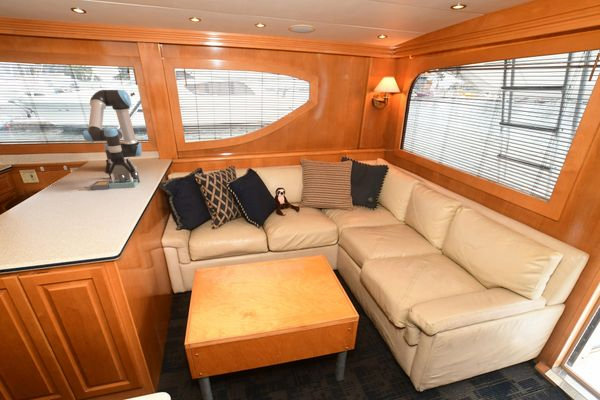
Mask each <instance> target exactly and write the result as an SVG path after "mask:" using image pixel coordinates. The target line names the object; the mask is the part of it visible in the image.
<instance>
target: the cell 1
mask: <svg viewBox="0 0 600 400" xmlns="http://www.w3.org/2000/svg"><path fill="white" fill-rule="evenodd" d="M118 177H119V179H118V180H119V181H120V183H127V182H126V178H125V174H122V173H120V174H118Z"/></svg>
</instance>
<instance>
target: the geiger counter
mask: <svg viewBox="0 0 600 400" xmlns="http://www.w3.org/2000/svg"><path fill="white" fill-rule="evenodd" d="M130 162H131V164H132V166H133V167H134V169H135V171H137V172H138V167H137V164H136V165H135V163H134V162H132V161H130ZM125 163H126V165H127V166H128V167H129V165H128V164H127V162H126V161H125ZM110 164H111V165H110V168H111V167H112V164H113V162H110ZM129 168H130V167H129ZM130 169H131V168H130ZM112 173H113V174H114V178H115V180H119V177H118V174H120V173H122V174H125V178H126V179H128V180H130V176H129V173H130V172H129V171H128V170H127V169H126V168H125V167H124V166H122V165H115V167H114V169H113V171H112ZM138 173H139V172H138ZM105 174H107V175H108V176H109V174H108V173H105Z"/></svg>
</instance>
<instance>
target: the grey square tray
mask: <svg viewBox="0 0 600 400" xmlns="http://www.w3.org/2000/svg"><path fill="white" fill-rule="evenodd" d="M106 181H109V182H108V183H107V184H103V185H95V184H96V183H98V182H106ZM111 183H112V179H110V180H96V181H95V182H94V183H92V184H91V185H90V188H91V191H103V190H106V191H107V190H110V188H109V185H108V184H111Z"/></svg>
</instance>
